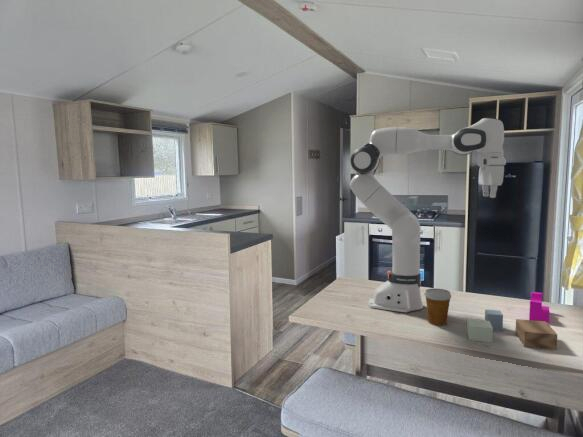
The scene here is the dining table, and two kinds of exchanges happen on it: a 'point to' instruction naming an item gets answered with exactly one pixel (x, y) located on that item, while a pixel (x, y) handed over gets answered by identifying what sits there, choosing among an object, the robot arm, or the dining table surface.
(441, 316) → the disposable coffee cup
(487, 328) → the sage block
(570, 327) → the dining table surface
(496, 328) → the slate block
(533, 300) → the toy block
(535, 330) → the walnut pedestal
